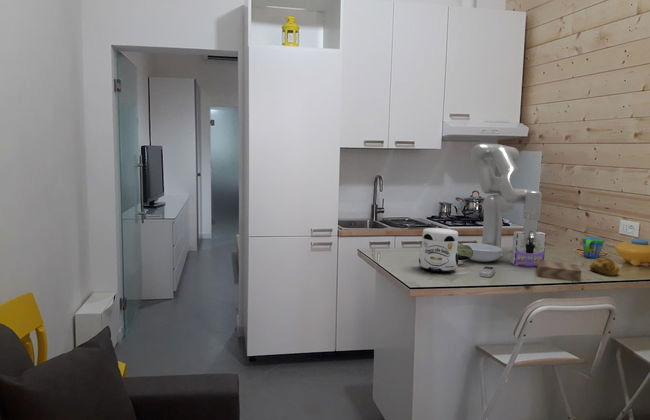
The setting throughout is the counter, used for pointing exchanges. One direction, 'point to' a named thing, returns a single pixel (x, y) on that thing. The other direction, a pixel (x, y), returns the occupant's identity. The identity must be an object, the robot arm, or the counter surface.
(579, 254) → the counter surface
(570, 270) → the walnut block
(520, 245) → the candy box
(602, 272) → the bread roll
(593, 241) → the snack cup
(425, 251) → the milk container
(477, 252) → the serving bowl
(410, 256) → the counter surface
